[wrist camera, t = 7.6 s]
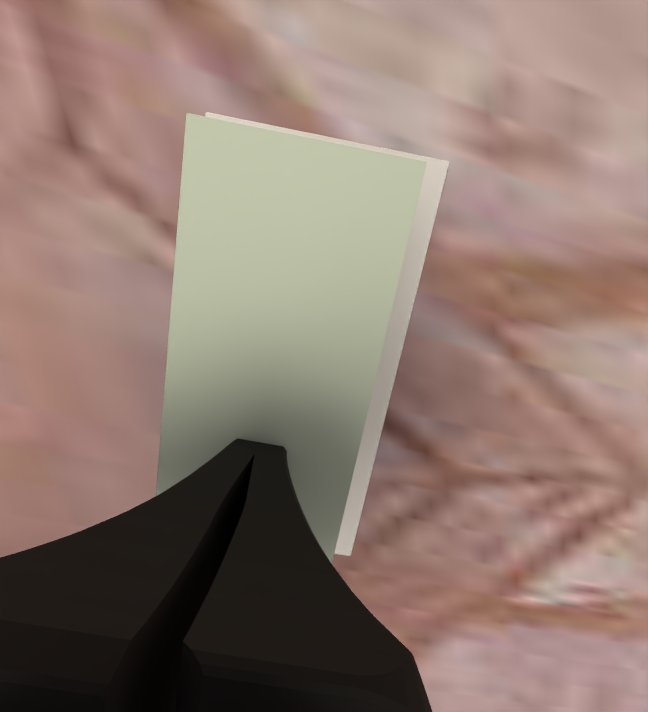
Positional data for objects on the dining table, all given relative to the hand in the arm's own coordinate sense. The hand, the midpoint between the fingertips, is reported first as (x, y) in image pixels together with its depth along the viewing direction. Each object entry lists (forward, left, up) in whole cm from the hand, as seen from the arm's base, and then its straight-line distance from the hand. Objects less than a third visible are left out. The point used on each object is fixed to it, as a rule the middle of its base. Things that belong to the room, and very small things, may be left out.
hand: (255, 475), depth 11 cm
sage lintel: (0, 0, -5) cm, 5 cm away
